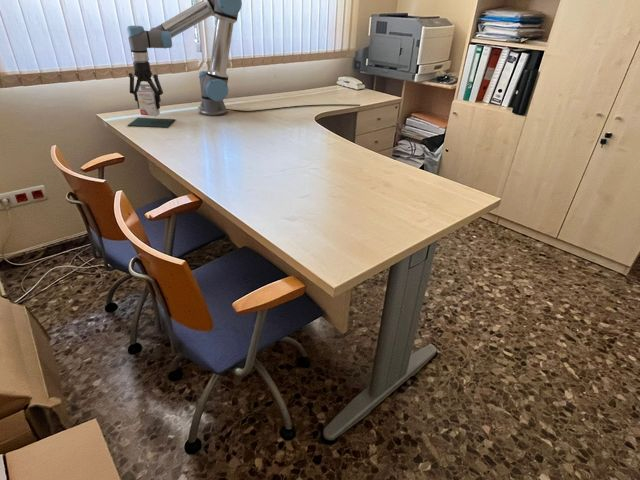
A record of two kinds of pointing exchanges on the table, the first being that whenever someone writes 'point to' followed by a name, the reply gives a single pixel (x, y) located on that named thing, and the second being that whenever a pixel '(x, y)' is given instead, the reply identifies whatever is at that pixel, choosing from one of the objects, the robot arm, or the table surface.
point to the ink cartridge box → (147, 101)
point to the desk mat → (152, 122)
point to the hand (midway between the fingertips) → (149, 107)
